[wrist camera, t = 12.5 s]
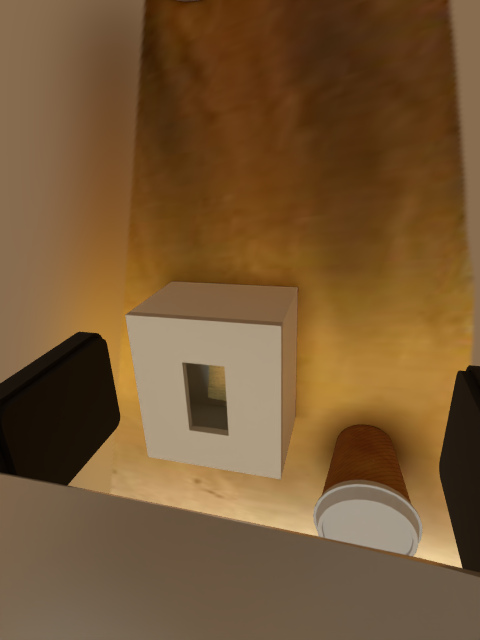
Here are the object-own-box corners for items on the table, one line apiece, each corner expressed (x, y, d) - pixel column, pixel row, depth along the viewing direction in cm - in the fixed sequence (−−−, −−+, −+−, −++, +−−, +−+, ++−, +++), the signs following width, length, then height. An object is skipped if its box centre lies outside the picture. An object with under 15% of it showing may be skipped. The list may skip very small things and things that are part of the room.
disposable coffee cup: (307, 450, 49) (293, 535, 38) (352, 397, 44) (350, 477, 34) (375, 492, 48) (379, 589, 38) (427, 443, 44) (449, 537, 33)
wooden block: (222, 373, 47) (224, 330, 44) (242, 377, 46) (245, 334, 44) (207, 397, 42) (209, 351, 40) (229, 402, 42) (232, 356, 39)
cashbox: (171, 281, 45) (125, 314, 36) (297, 287, 41) (281, 326, 32) (184, 402, 51) (148, 456, 42) (295, 416, 47) (281, 479, 38)
